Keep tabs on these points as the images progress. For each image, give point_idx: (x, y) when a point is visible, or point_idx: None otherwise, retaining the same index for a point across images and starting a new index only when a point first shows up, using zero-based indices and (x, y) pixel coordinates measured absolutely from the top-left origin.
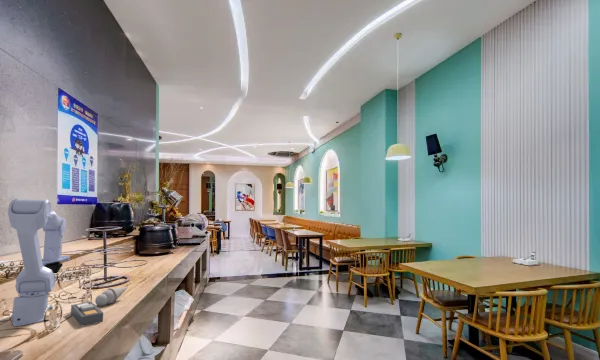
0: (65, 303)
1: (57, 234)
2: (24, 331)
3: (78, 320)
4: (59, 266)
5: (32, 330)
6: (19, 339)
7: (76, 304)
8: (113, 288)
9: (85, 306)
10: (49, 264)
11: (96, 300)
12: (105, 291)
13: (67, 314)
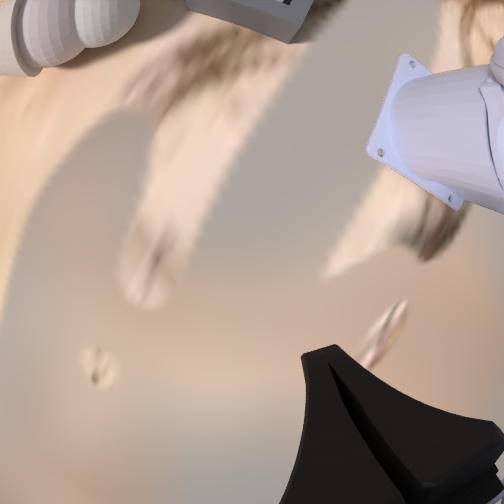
0: (186, 255)
1: None
2: (479, 53)
3: None
4: (346, 494)
5: (466, 34)
6: (497, 20)
7: (277, 7)
8: (3, 11)
9: None
10: (476, 499)
11: (136, 2)
12: (53, 2)
13: (308, 43)
